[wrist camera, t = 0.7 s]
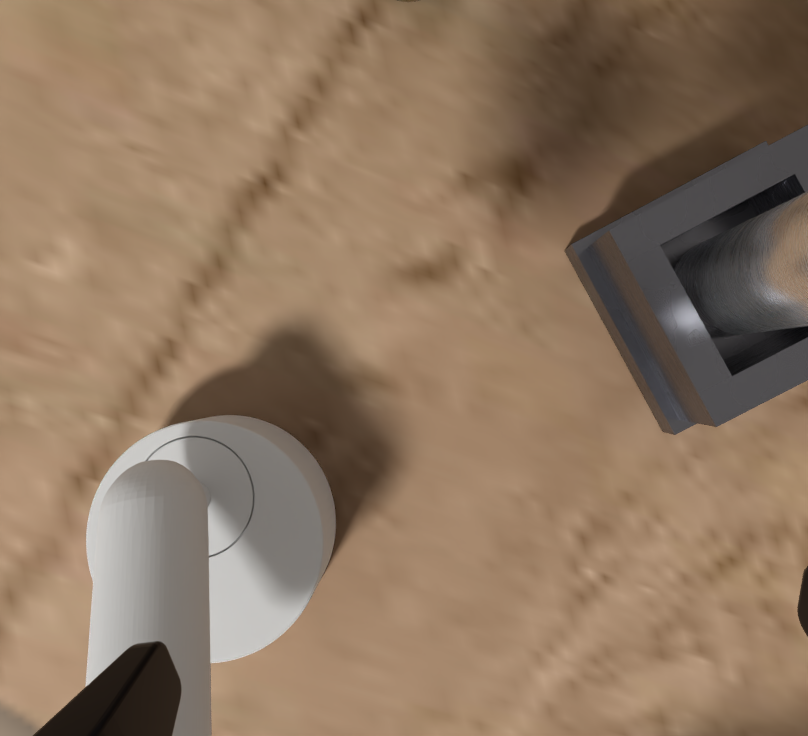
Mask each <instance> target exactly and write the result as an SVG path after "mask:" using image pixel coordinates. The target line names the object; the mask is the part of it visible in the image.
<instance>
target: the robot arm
mask: <svg viewBox="0 0 808 736" xmlns="http://www.w3.org/2000/svg"><path fill="white" fill-rule="evenodd" d="M798 617H799V621H800V623H801V626H802V628H803V630H804V631H805V633H806V635H807V636H808V566H807V568H806V569H805V570H804V573H803V578H802V584H801V590H800V596H799V602H798ZM181 692H182V687H181V680H180V677H179V675H178V672H177V670H176V668H175V665H174V663H173V661H172V658H171V656H170V653H169V651H168V649H167V647H166V645H165V644H164V643H163V642H161V641H154V642H145V643H137V644H134V645H132V646H130V647H129V648H128V649H127V650H126V651H124V652H123V653H122V654H121V655H120V656H119V657H118V658H117V659H116V660H115V661H114V662H112V663H111V664H110V665H109V666H108V667H107V668H106V669H105V670H104V671H103V672H102V673H100V674H99V675H98V676H97V677H96V678H95V679H94V680H93V681H92V682H91V683H90V684H89V685H87V686H86V687H85V688H84V689H83V690H82V691H81V692H80V693H79V694H78V695H77V696H75V697H74V698H73V699H72V700H71V701H70V702H69V703H68V704H67V705H66V706H65V707H63V708H62V709H61V710H60V711H59V712H58V713H57V714H56V715H55V716H54V717H53V718H52V719H50V720H49V721H48V722H47V723H46V724H45V725H44V726H43V727H42V728H41V729H40V730H38V731H37V732H36V733H35V734H34V735H33V736H172V734H173V730H174V726H175V721H176V717H177V713H178V708H179V704H180V700H181Z"/></svg>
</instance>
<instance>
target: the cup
mask: <svg viewBox="0 0 808 736" xmlns="http://www.w3.org/2000/svg"><path fill="white" fill-rule="evenodd" d="M397 1H402V2H415V1H419V0H397Z"/></svg>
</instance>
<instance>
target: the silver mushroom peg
mask: <svg viewBox="0 0 808 736" xmlns="http://www.w3.org/2000/svg"><path fill="white" fill-rule="evenodd" d="M674 271H675V273H676V275H677V277H678V279H679V281H680V282H681V284H682V286H683V288H684V290H685V291H686V293H687V295H688V297H689V299H690V301H691V302H692V304H693V306H694V308H695V310H696V311H697V313H698V315H699V317H700V319H701V321H702V322H703V324H704V326H705V328H706V330H707V331H708V333H709V335H710V336H716V337H726V336H734V335H741V334H749V333H757V332H765V331H772V330H780V329H788V328H795V327H803V326H808V191H807V192H805V193H803V194H801V195H799V196H797V197H795V198H793V199H791V200H789V201H787V202H785V203H782V204H780V205H778V206H776V207H774V208H772V209H770V210H768V211H766V212H764V213H762V214H760V215H758V216H756V217H754V218H751V219H749V220H747V221H745V222H743V223H741V224H739V225H737V226H735V227H733V228H731V229H729V230H727V231H725V232H723V233H721V234H718V235H716V236H714V237H712V238H710V239H708V240H706V241H704V242H702V243H700V244H698V245H696V246H694V247H693V248H691V249H690V250H689V251H687V252H686V253H685V254H684V255H683V256H682V257H681V259H680V260H679V262H678V263H677V265H676V267H675V269H674Z"/></svg>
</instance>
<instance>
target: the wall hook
mask: <svg viewBox="0 0 808 736" xmlns="http://www.w3.org/2000/svg"><path fill="white" fill-rule="evenodd" d="M335 533H336V514H335V506H334V500H333V496H332V492H331V489H330V486H329V484H328V481H327V479H326V477H325V475H324V473H323V471H322V469H321V467H320V466H319V464H318V462H317V461H316V460H315V458H314V457H313V456H312V454H311V453H310V452H309V451H308V450H307V449H306V448H305V447H304V446H303V445H302V444H301V443H300V442H299V441H298V440H297V439H296V438H294V437H293V436H292V435H290V434H289V433H288V432H286V431H284V430H283V429H281V428H279V427H277V426H275V425H273V424H271V423H268V422H266V421H263V420H260V419H256V418H252V417H247V416H239V415H221V416H213V417H207V418H202V419H197V420H192V421H187V422H182V423H178V424H174V425H170V426H167V427H165V428H162V429H160V430H157V431H155V432H153V433H151V434H149V435H147V436H145V437H144V438H142V439H141V440H139V441H138V442H136V443H135V444H134V445H132V446H131V447H130V448H129V449H127V450H126V451H125V452H124V453H123V454H122V455H121V456H120V457H119V458H118V459H117V460H116V461H115V463H114V464H113V465H112V466H111V468H110V469H109V471H108V472H107V473H106V475H105V476H104V478H103V480H102V482H101V483H100V485H99V487H98V490H97V492H96V494H95V497H94V499H93V502H92V506H91V509H90V513H89V518H88V524H87V534H86V548H87V558H88V564H89V569H90V573H91V576H92V579H93V592H92V606H91V619H90V633H89V647H88V660H87V674H86V686H87V685H89V684H90V683H91V682H92V681H93V680H94V679H95V678H96V677H97V676H98V675H99V674H100V673H102V672H103V671H104V670H105V669H106V668H107V667H108V666H109V665H110V664H111V663H112V662H114V661H115V660H116V659H117V658H118V657H119V656H120V655H121V654H122V653H123V652H124V651H126V650H127V649H128V648H129V647H130V646H132V645H134V644H137V643H145V642H154V641H161V642H163V643H164V644H165V645H166V647H167V649H168V651H169V653H170V656H171V658H172V661H173V663H174V665H175V668H176V670H177V672H178V675H179V677H180V680H181V687H182V692H181V700H180V704H179V708H178V713H177V717H176V721H175V726H174V730H173V734H172V736H212V730H211V665H210V663H218V662H225V661H230V660H234V659H238V658H241V657H244V656H247V655H250V654H252V653H254V652H256V651H258V650H260V649H262V648H264V647H266V646H267V645H269V644H270V643H272V642H273V641H274V640H276V639H277V638H279V637H280V636H281V635H282V634H283V633H284V632H285V631H286V630H287V629H288V628H289V627H290V626H291V625H292V624H293V623H294V622H295V621H296V620H297V618H298V617H299V616H300V614H301V613H302V612H303V610H304V609H305V607H306V605H307V604H308V602H309V600H310V599H311V597H312V595H313V593H314V591H315V589H316V587H317V585H318V583H319V581H320V580H321V578H322V576H323V574H324V572H325V570H326V568H327V565H328V563H329V560H330V557H331V554H332V551H333V546H334V541H335Z"/></svg>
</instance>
